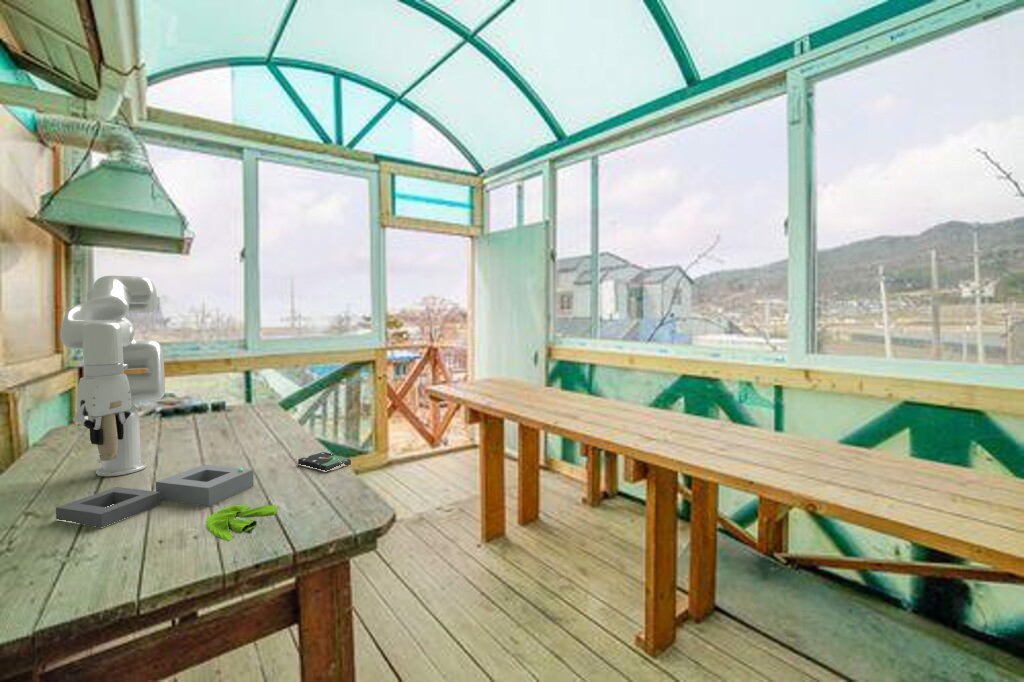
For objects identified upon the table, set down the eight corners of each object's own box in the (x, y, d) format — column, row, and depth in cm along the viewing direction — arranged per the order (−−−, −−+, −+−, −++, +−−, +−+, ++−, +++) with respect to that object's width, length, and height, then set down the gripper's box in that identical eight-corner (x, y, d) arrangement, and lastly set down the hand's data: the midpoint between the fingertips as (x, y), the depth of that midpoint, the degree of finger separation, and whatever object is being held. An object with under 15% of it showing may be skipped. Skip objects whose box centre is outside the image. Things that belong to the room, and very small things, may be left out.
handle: (127, 458, 118) (124, 401, 117) (94, 464, 113) (91, 405, 112) (121, 454, 121) (119, 398, 120) (89, 460, 116) (86, 402, 115)
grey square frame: (56, 521, 112) (55, 507, 112) (117, 499, 126) (117, 486, 126) (102, 528, 109) (101, 514, 109) (160, 504, 122) (159, 492, 122)
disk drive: (297, 467, 155) (326, 474, 148) (297, 459, 155) (326, 465, 148) (323, 459, 164) (352, 465, 157) (323, 451, 164) (351, 457, 157)
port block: (156, 499, 126) (155, 478, 126) (204, 480, 140) (204, 462, 140) (209, 506, 122) (208, 485, 121) (253, 486, 136) (253, 467, 136)
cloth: (228, 505, 124) (228, 496, 124) (308, 507, 123) (307, 498, 123) (170, 542, 104) (169, 532, 103) (264, 544, 103) (264, 534, 103)
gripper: (127, 366, 124) (130, 431, 126) (53, 374, 108) (57, 449, 110) (149, 367, 123) (151, 434, 124) (76, 376, 106) (80, 452, 108)
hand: (107, 440), depth 117 cm, fingers closed on handle, 4 cm apart
